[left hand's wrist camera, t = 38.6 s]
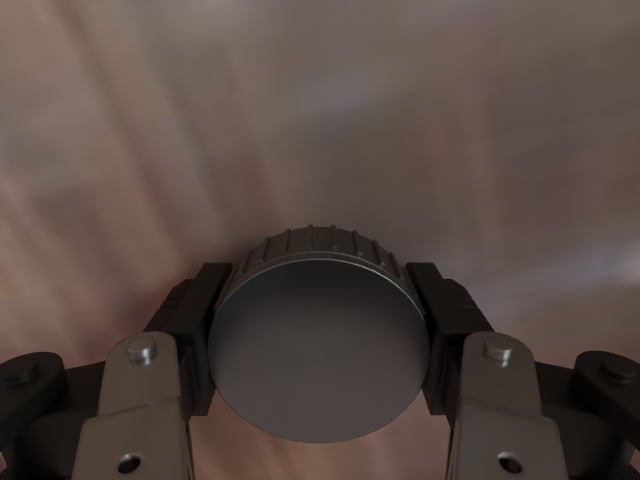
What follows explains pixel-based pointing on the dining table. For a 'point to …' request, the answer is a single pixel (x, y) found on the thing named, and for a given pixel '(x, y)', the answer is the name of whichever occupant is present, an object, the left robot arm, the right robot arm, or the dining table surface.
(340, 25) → the dining table surface
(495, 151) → the dining table surface
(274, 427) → the lid
